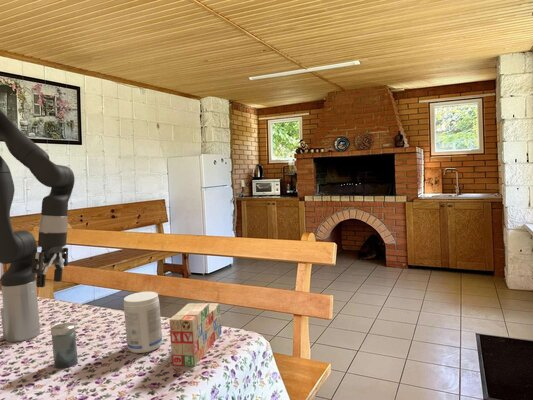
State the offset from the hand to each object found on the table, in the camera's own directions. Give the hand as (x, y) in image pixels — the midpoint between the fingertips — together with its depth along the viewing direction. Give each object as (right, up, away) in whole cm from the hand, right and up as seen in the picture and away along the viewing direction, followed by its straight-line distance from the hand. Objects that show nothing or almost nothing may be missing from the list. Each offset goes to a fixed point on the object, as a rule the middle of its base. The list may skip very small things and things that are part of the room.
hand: (49, 284), depth 119 cm
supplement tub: (+31, -17, -7) cm, 36 cm away
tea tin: (+13, -18, -15) cm, 27 cm away
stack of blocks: (+47, -16, -10) cm, 50 cm away
